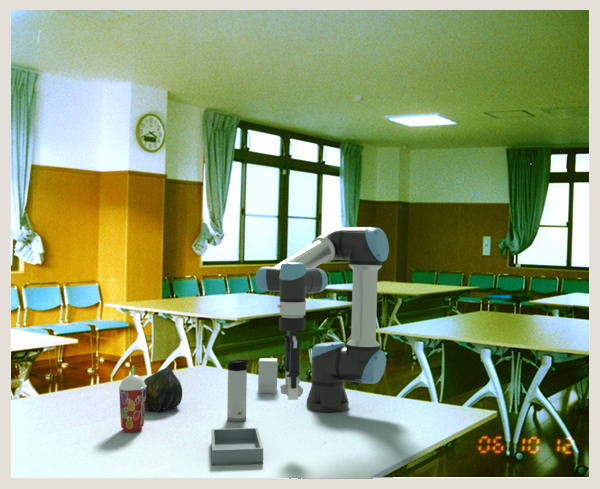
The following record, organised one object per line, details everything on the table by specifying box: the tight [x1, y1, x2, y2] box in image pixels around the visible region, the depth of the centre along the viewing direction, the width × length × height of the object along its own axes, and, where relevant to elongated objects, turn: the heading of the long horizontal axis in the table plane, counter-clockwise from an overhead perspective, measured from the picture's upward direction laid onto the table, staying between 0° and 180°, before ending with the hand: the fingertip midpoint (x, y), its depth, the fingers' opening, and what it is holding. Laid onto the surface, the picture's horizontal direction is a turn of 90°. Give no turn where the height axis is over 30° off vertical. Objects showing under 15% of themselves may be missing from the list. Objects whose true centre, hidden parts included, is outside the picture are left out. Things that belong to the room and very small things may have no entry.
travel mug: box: [226, 358, 249, 423], centre depth 215 cm, size 6×7×20 cm
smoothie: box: [118, 365, 147, 434], centre depth 201 cm, size 8×8×20 cm
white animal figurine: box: [280, 371, 304, 398], centre depth 186 cm, size 5×7×8 cm
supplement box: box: [257, 357, 278, 394], centre depth 256 cm, size 7×7×13 cm
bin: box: [211, 427, 264, 466], centre depth 181 cm, size 13×19×4 cm
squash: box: [143, 367, 183, 412], centre depth 228 cm, size 14×15×15 cm
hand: (291, 396), depth 186 cm, fingers closed on white animal figurine, 5 cm apart
